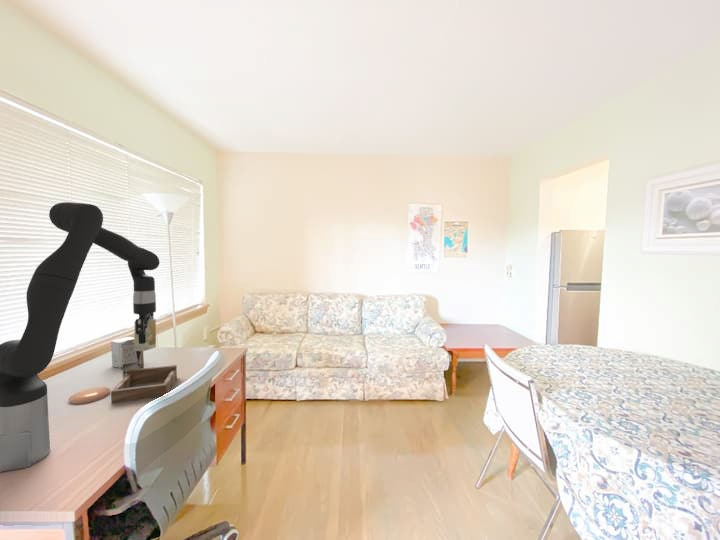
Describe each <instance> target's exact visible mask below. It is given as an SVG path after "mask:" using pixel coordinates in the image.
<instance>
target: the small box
mask: <svg viewBox="0 0 720 540" xmlns="http://www.w3.org/2000/svg"><path fill="white" fill-rule="evenodd" d="M133 339H135V337H132V336H127V337H123V338H118V339H114V340H111V341H110V345H111V346H110V347H111V348H110V349H111V365H112V367H113V366H115V368H117V367H119V369H122V368H123V363H122V345H123V344H124V343H125V342H126V341H127V340H133ZM121 367H122V368H121Z"/></svg>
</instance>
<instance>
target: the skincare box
mask: <svg viewBox="0 0 720 540" xmlns="http://www.w3.org/2000/svg"><path fill="white" fill-rule="evenodd" d="M156 321H157V320H156V318H155V319H152V320H150V322H149V325H148V329H146V343H144V344H139V335H138V334H136V320H135V321H134V338H135V351H142V352H143V353H144V352H146V351H149V350H152V349H155V348H156V347H157V345H156V344H157V337H156V336H157V335H156V333H157V331H156V328H157V327H156V325H157V324H156ZM146 322H147V321H146ZM144 326H146V324H144ZM140 331H142V329H141V330H140Z"/></svg>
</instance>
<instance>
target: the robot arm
mask: <svg viewBox="0 0 720 540" xmlns="http://www.w3.org/2000/svg"><path fill="white" fill-rule="evenodd" d="M48 215H49V216H48V217H49V220H50V221H51V224H53V226H54V227H56V228H57V229H59V230H61V231H64V232H66V233H67V235H66V238H65V240H64V241H63V242H62V244H60V246H59V247H58V248H57V249H56V250H54V252H51V254H50V255H48V256H47V257H46V258H45V259H44V260H43V261H42V262H40V264H38V266H37V267H36V269H35V270H34V272H33V274H32V277H31V279H30V281H29V284H28V286H27V290H26V307H27V323H26V326H25V329H24V331H23V334H22V336H21V338H20V339H12V340H7V341H4V342H2V343H1V344H0V473H3V472H2V471H4V472H8V471H15V470H19V469H25V468H29V467H31V466H32V465H34V464H36V463H38V462H39V461H41V460H42V459H44V458H45V457H47V456H48V455H49V454H50V452H51V439H50V422H49V399H48V398H49V397H48V385H47V383H46V382H45V381H44V380H42V379H41V378H40V377H39V375H38V374H40V373H42V372H43V371H44V370H45V369H47V367H48V366H49V365H50V363H51V362H52V359H53V357H54V355H55V349H56V345H57V342H58V337H59V332H60V329H61V325H62V322H63V319H64V317H65V313H66V312H67V308H68V305H69V303H70V301H71V297H72V295H73V293H74V290H75V288H76V286H77V282H78V280H79V276H80V274H81V271H82V270H83V269H82V268H83V267H84V264H85V261H86V259H87V256H88V254H89V252H90V249H91V247H92V246H93V245H97V246H98V247H100V248H102V249H105V251H108V252H109V253H111V254H113V255H114V256H115V257H118V258H119V259H121V260H122V261H126V262H127V266H128V269H129V273H130V275H131V278H132V281H133V295H132V299H133V300H132V303H133V304H132V307H133V309H132V310H133V311H132V312H133V314H134V315H138V318H136V319H135V321H136V334H138V335H139V344H144V343H146V329H148V325H149V322H150V320H152V319H154V314H155V313H156V312H157V300H156V299H157V298H156V288H155V287H156V284H155V283H156V281H155V277H153V276H152V275H148V274H146V272H145V271H154V270H156V269H158V267H159V265H160V259H159V257H158V256H157V254H155V253H154V252H152V251H150V250H148V249H146V248H143V247H141V246H138V245H137V244H135V243H134V242H132V241H131V240H130V239H128V238H127V237H124V236H123V235H120V234H118V233H117V232H113V231H111V230H109V229H107V228H103V227H102V226H103V224H104V223H103V222H104V216H103V215H104V214H103V212H102V210H101V209H100V208H99V207H98V206H96V205H95V204H91V203H84V202H68V201H67V202H66V201H65V202H57V203H55V204H54V205H52V206H51V208H50V210H49V213H48ZM146 321H147V322H146ZM144 324H146V326H144ZM141 329H142V331H140V330H141Z"/></svg>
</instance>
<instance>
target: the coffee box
mask: <svg viewBox="0 0 720 540" xmlns="http://www.w3.org/2000/svg"><path fill="white" fill-rule="evenodd" d="M144 360H145V359H144V351H143V352H142V351H135V339H133V340H127V341H126V342H125V343H124V344H123V345H122V363H123V367H122V380H123V379H124V378H125V377H126V376H127V375H128V370H132V369H142V368H145V365H144V363H145V362H144Z"/></svg>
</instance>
